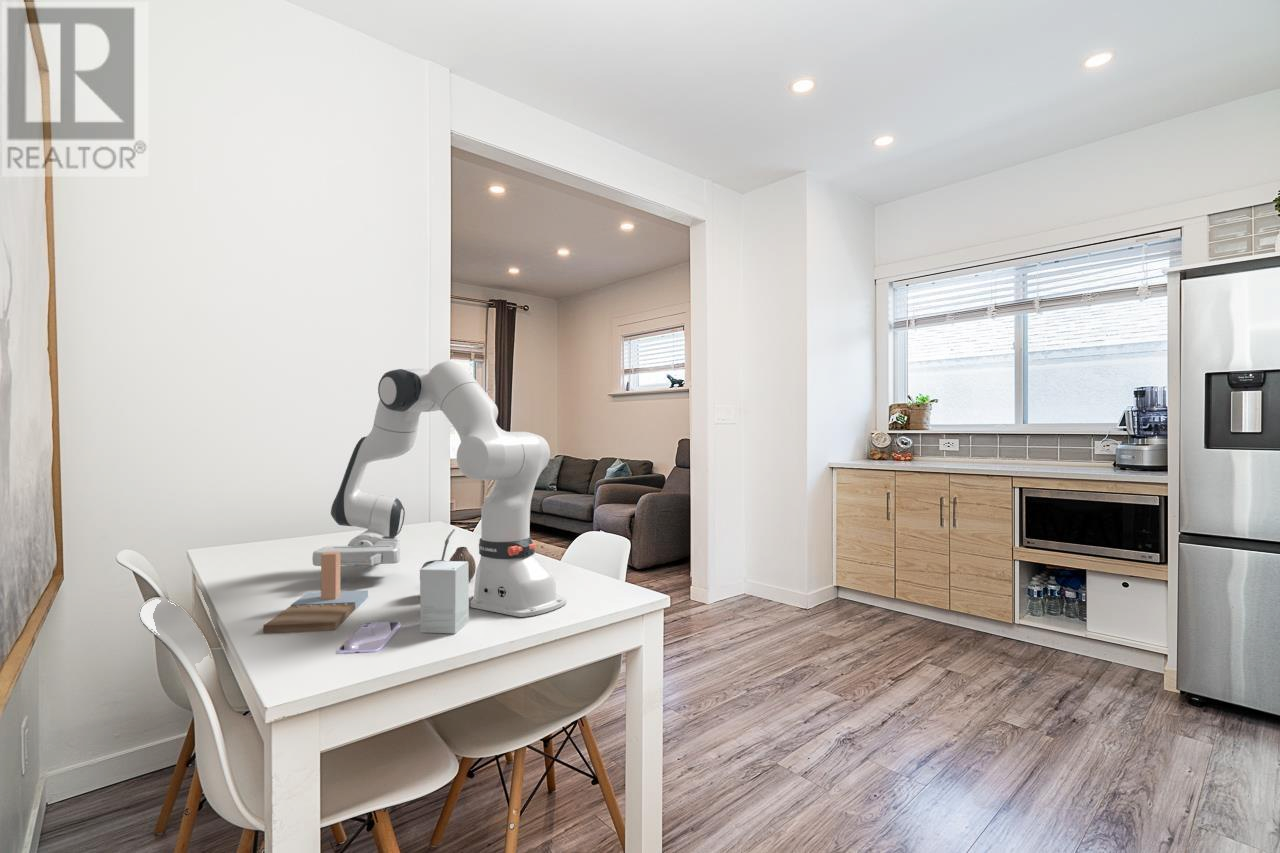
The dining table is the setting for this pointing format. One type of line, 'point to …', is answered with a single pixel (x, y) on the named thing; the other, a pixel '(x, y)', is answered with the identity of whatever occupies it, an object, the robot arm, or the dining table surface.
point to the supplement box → (444, 596)
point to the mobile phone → (369, 638)
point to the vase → (465, 559)
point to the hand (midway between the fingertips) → (347, 562)
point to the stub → (331, 586)
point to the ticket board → (309, 618)
